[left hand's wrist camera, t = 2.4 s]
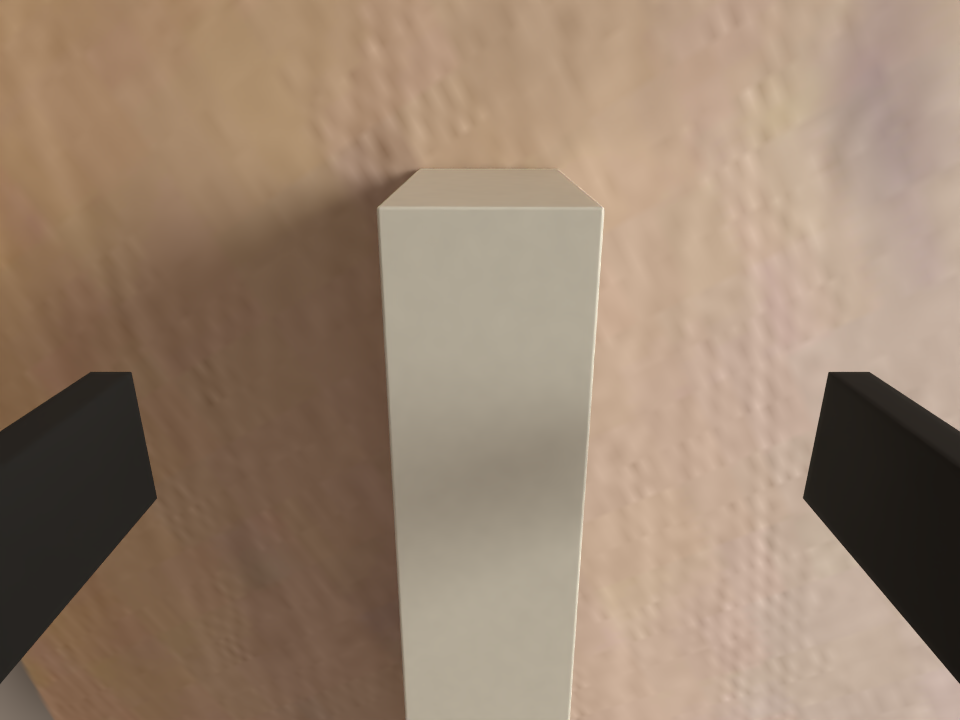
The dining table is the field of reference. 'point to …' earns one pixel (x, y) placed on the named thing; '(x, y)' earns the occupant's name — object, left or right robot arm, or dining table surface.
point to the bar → (489, 432)
